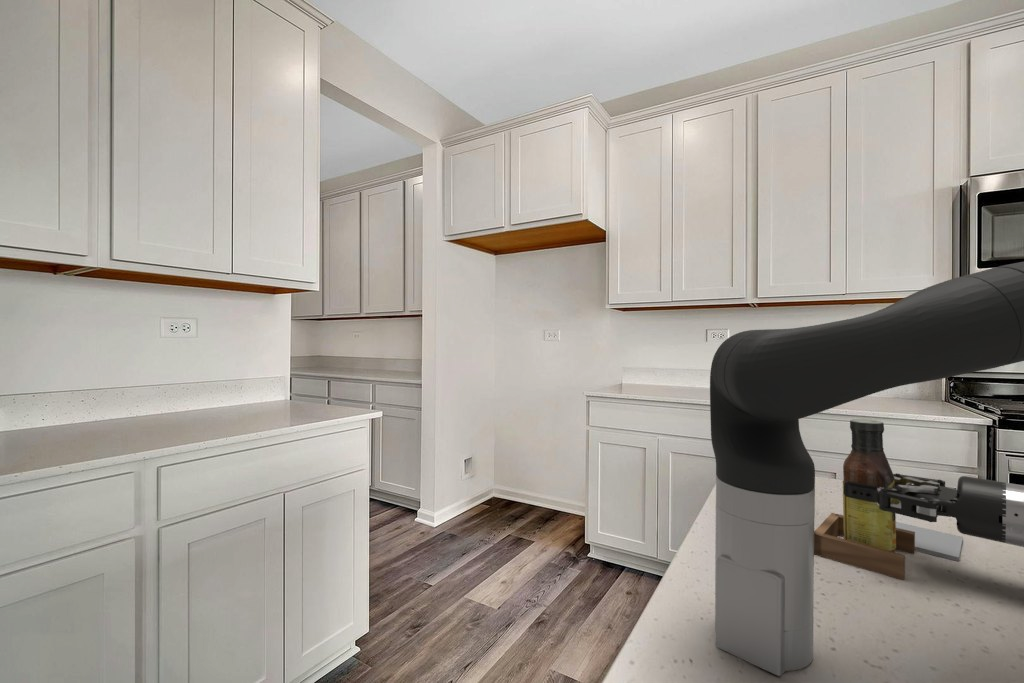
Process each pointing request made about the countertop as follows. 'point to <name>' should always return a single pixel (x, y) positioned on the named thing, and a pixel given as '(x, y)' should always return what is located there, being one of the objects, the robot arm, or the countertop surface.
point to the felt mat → (935, 542)
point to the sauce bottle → (870, 469)
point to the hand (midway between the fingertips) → (850, 483)
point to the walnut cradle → (862, 549)
